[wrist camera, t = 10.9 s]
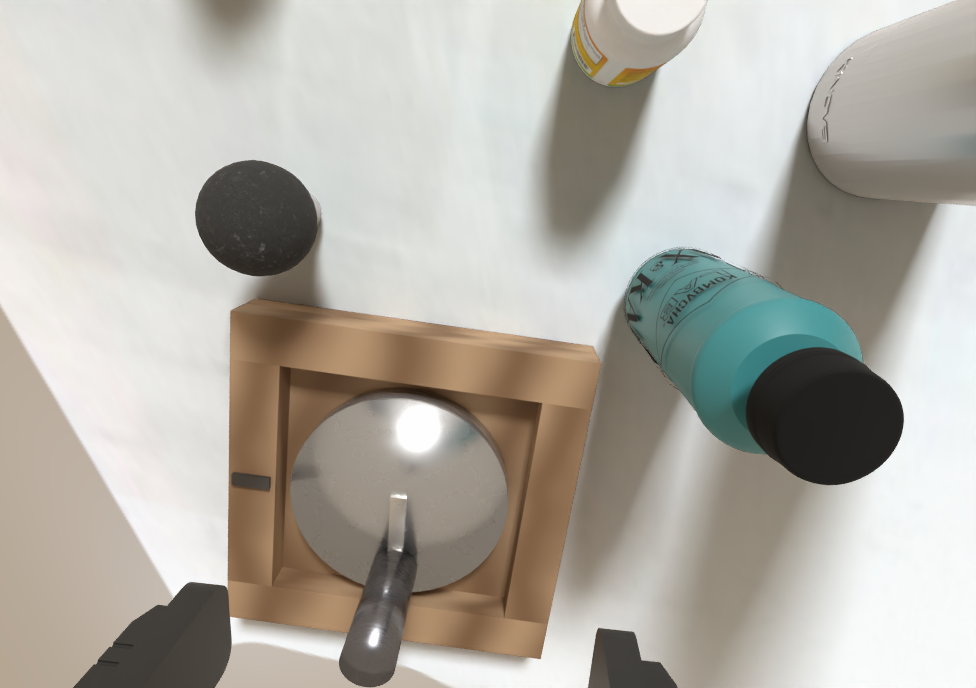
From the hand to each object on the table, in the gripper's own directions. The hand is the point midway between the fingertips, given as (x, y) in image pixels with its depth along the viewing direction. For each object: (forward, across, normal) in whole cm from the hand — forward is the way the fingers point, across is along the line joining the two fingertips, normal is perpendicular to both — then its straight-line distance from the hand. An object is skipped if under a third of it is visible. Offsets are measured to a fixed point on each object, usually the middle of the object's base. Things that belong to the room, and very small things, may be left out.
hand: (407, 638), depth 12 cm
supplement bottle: (+26, -6, -18) cm, 32 cm away
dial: (+24, +5, +11) cm, 27 cm away
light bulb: (+26, +12, -7) cm, 29 cm away
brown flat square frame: (+26, +5, +11) cm, 28 cm away
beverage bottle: (+27, -11, -3) cm, 29 cm away
